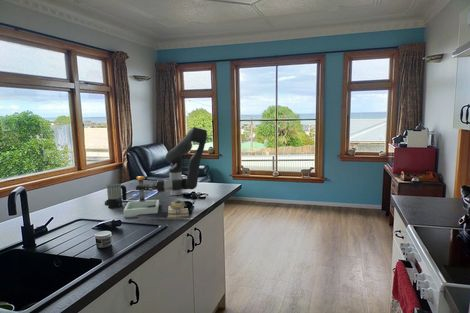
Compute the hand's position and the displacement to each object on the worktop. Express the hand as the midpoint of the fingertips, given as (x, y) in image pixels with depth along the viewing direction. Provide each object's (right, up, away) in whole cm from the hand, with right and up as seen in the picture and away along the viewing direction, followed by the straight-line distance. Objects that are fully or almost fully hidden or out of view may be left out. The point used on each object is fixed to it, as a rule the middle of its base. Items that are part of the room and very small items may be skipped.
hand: (136, 187), depth 193 cm
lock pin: (+3, -9, +2) cm, 9 cm away
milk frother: (-21, -14, +18) cm, 31 cm away
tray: (+3, -15, +3) cm, 16 cm away
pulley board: (+26, -15, -1) cm, 30 cm away
